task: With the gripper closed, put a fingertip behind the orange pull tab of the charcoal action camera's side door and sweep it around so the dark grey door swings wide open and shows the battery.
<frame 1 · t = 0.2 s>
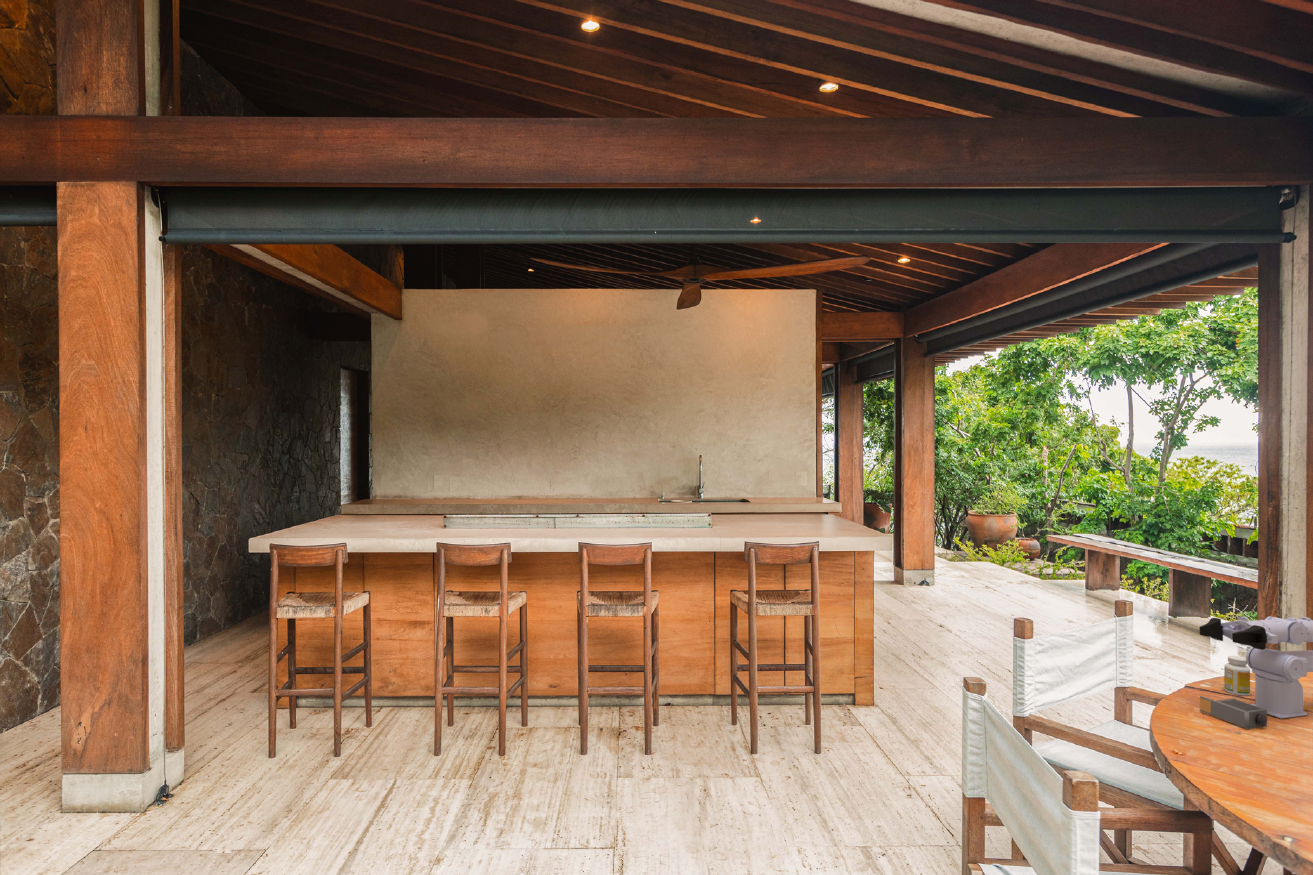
hand: (1217, 634, 165), 21 cm above the table, tool horizontal, fingers open, 7 cm apart
camera body: (1240, 721, 163), on the table
supplement bottle: (1237, 693, 182), on the table
side door: (1223, 711, 164), point 2 cm above the table, hinge at 0.0°
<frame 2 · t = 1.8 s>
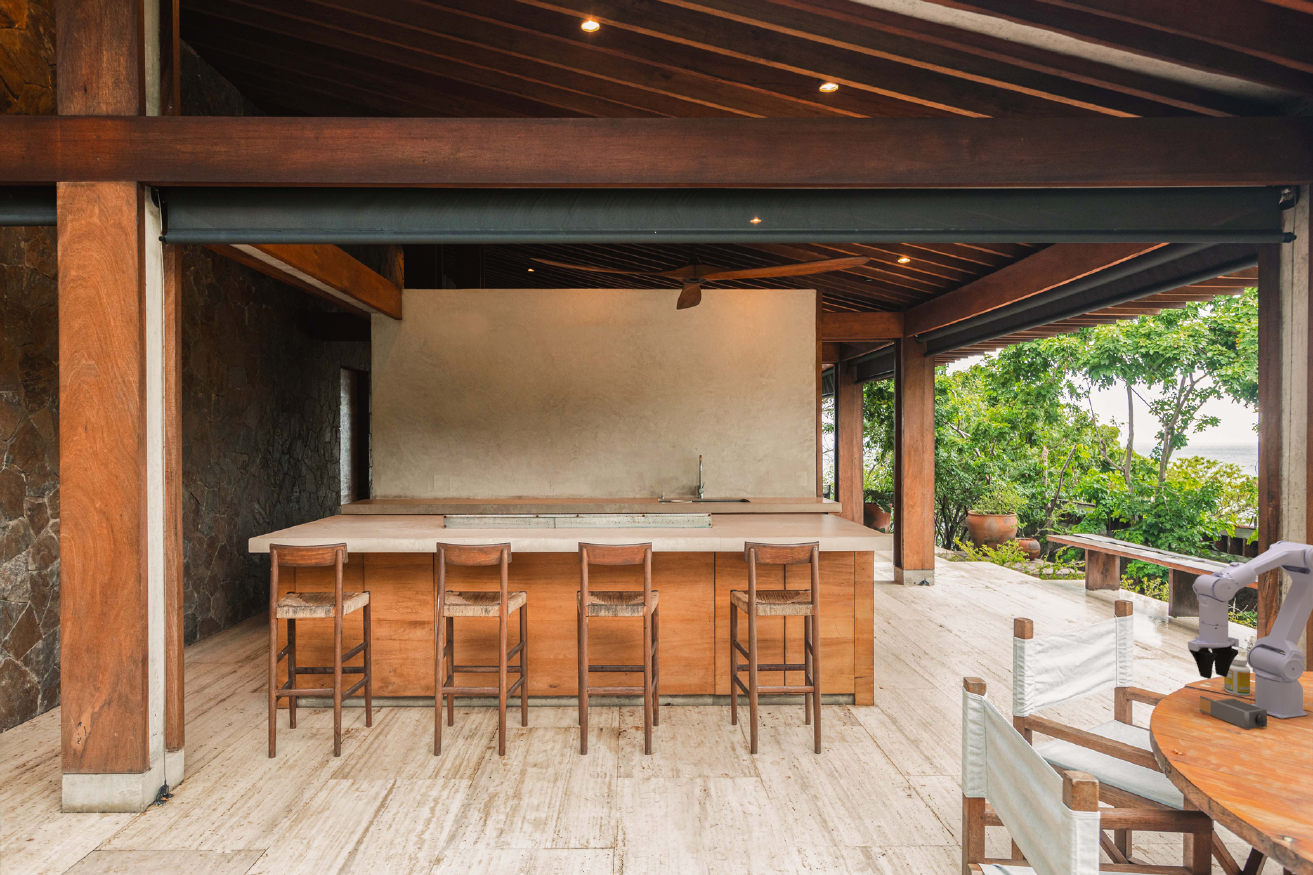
hand: (1213, 676, 168), 9 cm above the table, tool pointing down, fingers open, 5 cm apart
nothing on the table moved.
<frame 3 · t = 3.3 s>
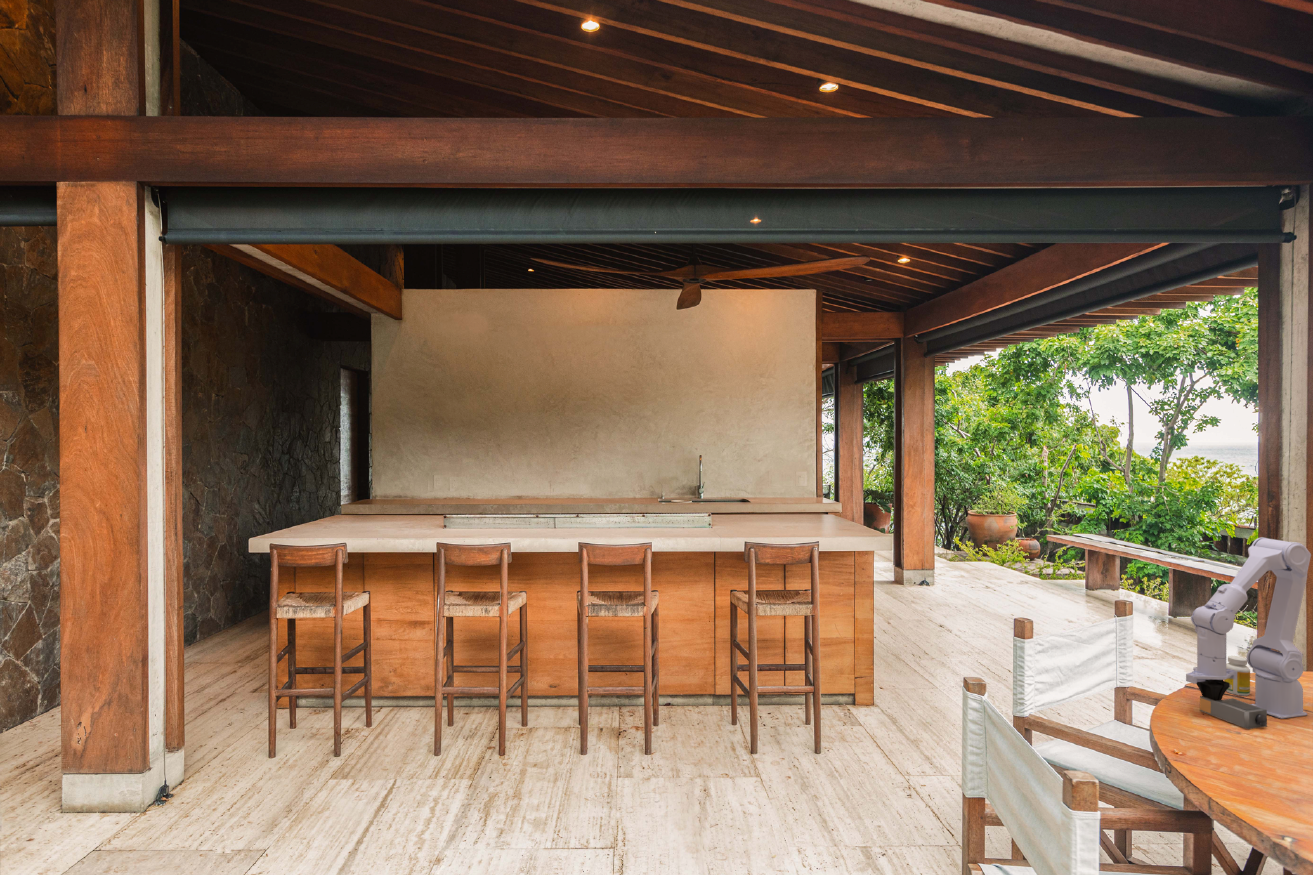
hand: (1211, 708, 168), 1 cm above the table, tool pointing down, fingers closed, pressing on camera body
side door: (1223, 711, 164), point 2 cm above the table, hinge at 0.0°, touching gripper
everything else where it was.
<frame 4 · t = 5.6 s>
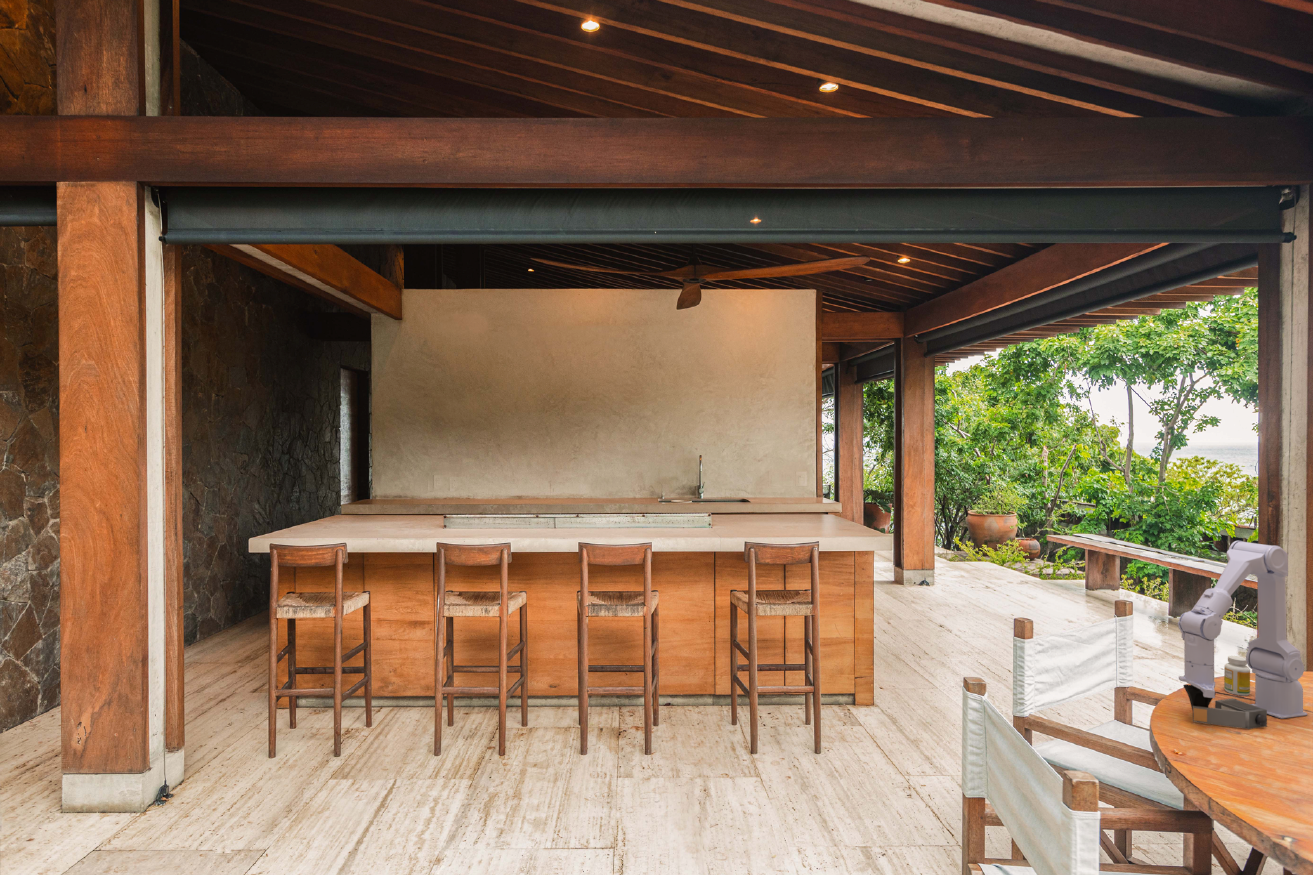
hand: (1199, 716, 163), 1 cm above the table, tool pointing down, fingers closed
side door: (1220, 716, 161), point 2 cm above the table, hinge at 54.8°, touching gripper
everything else where it was.
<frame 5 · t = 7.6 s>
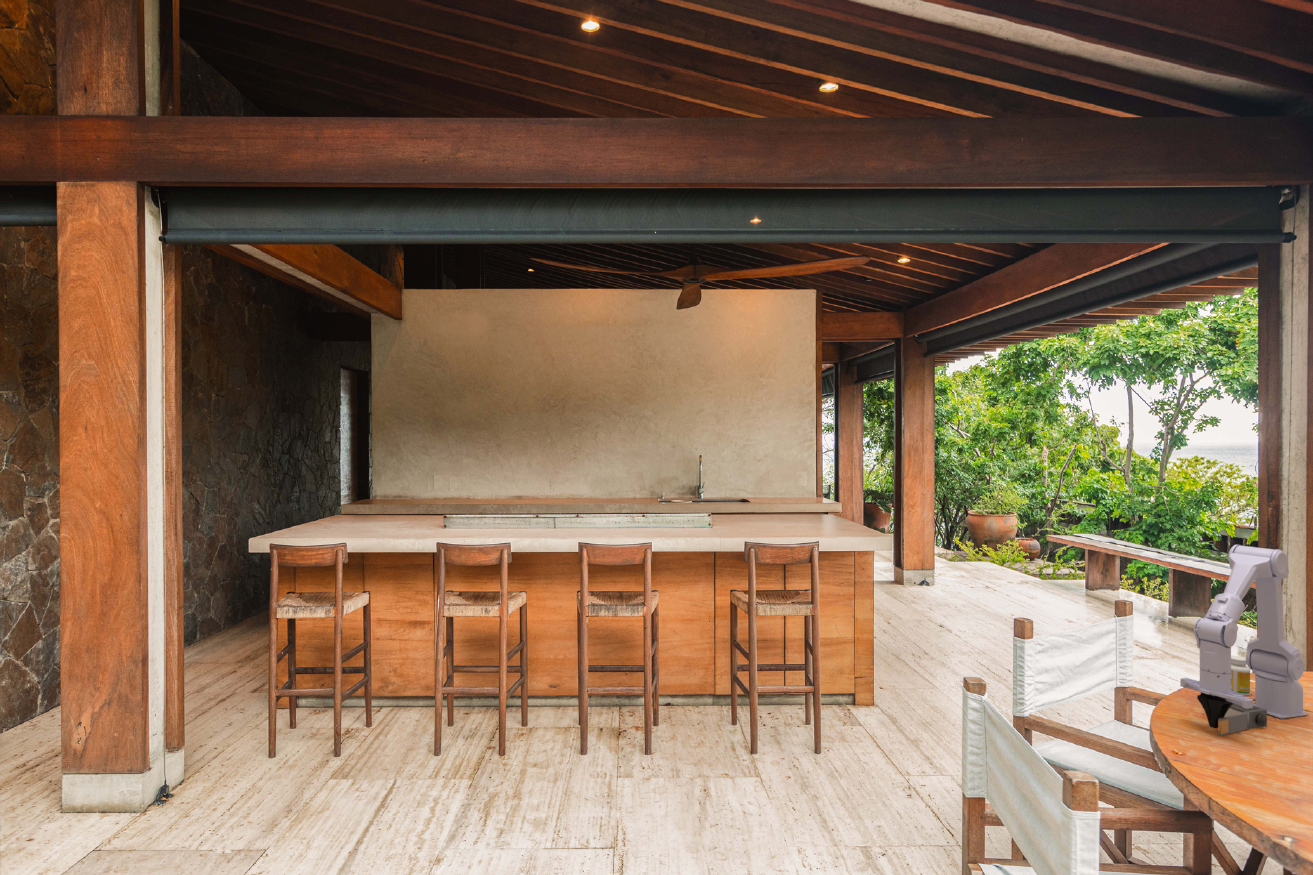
hand: (1215, 726, 157), 1 cm above the table, tool pointing down, fingers closed
side door: (1234, 723, 157), point 2 cm above the table, hinge at 97.1°, touching gripper
everything else where it was.
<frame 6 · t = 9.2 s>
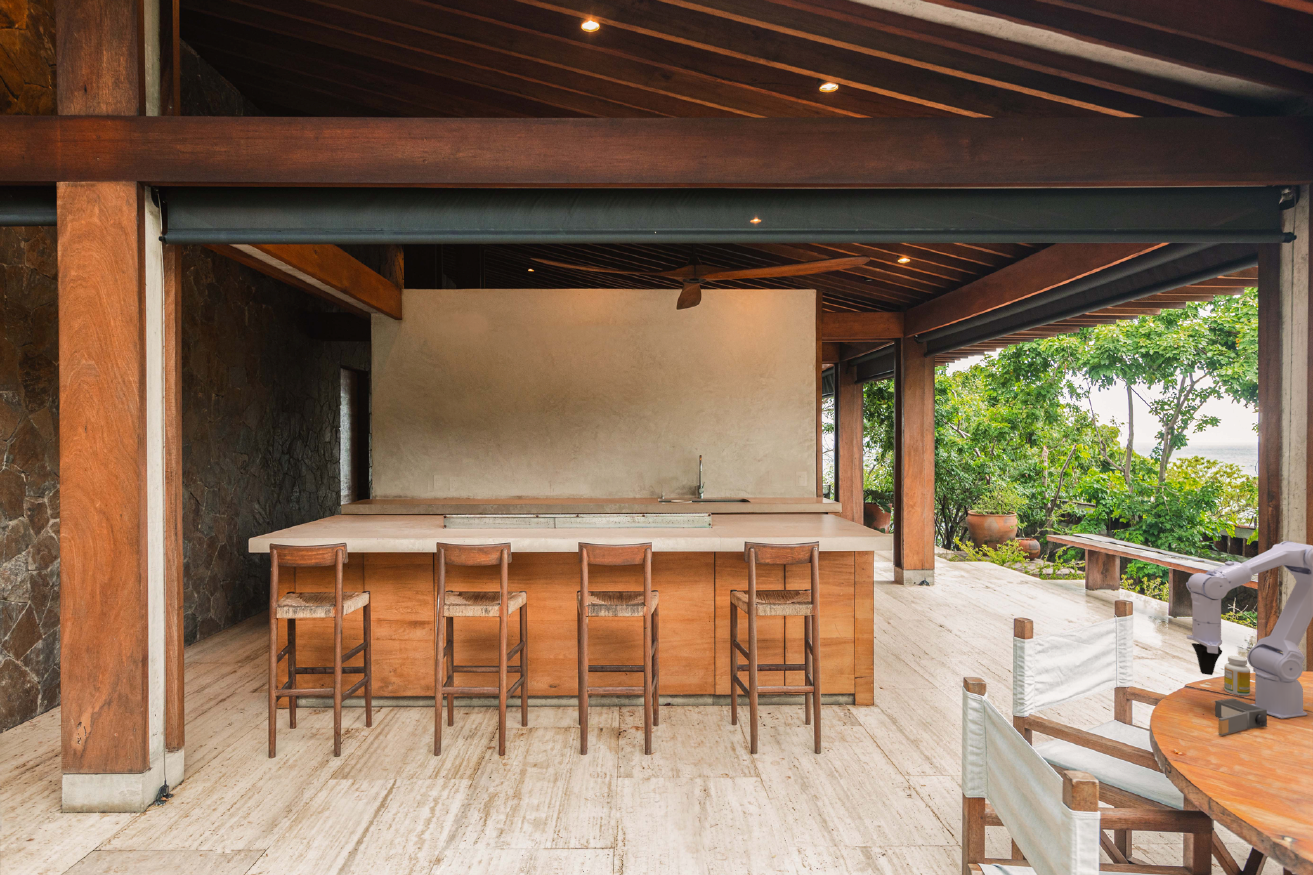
hand: (1206, 673, 170), 9 cm above the table, tool pointing down, fingers closed
side door: (1234, 723, 157), point 2 cm above the table, hinge at 97.2°
everything else where it was.
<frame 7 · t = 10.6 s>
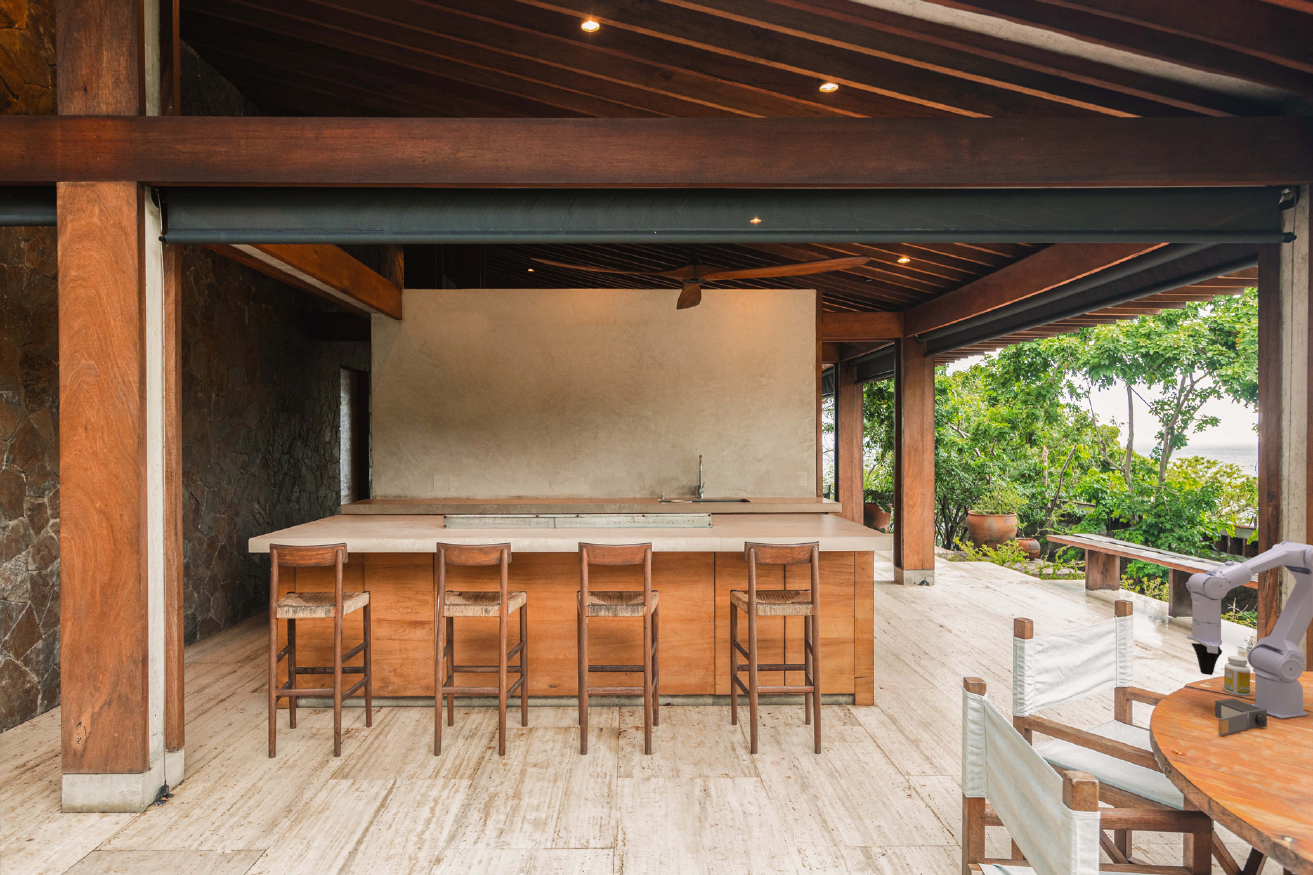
hand: (1206, 673, 170), 9 cm above the table, tool pointing down, fingers closed
nothing on the table moved.
at the end: side door at +97° (first picture: +0°); supplement bottle moved 0.2 cm from its start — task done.
